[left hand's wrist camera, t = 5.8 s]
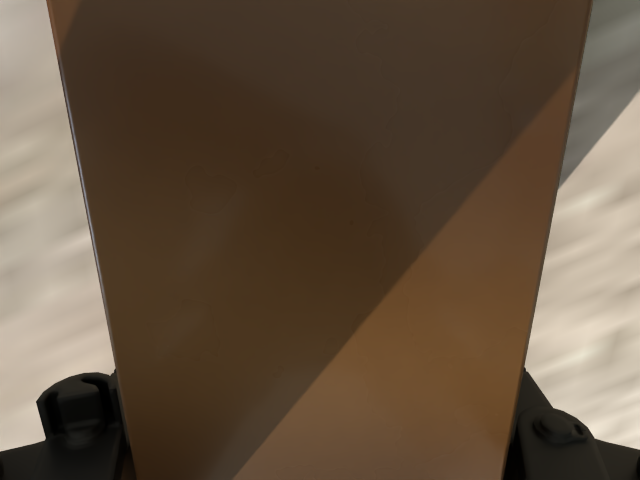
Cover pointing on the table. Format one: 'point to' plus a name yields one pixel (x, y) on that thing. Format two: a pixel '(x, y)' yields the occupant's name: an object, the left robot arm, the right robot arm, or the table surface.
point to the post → (319, 224)
